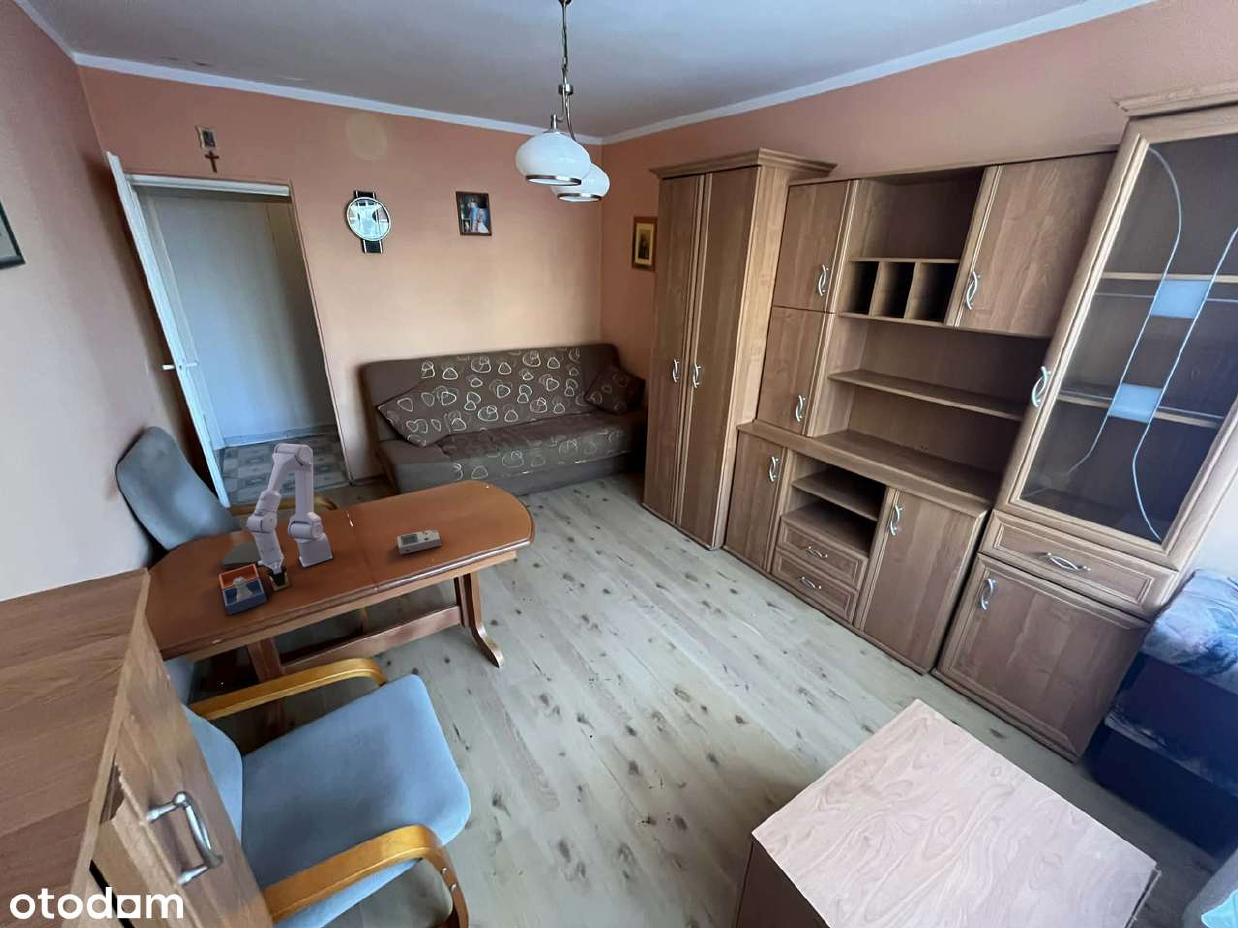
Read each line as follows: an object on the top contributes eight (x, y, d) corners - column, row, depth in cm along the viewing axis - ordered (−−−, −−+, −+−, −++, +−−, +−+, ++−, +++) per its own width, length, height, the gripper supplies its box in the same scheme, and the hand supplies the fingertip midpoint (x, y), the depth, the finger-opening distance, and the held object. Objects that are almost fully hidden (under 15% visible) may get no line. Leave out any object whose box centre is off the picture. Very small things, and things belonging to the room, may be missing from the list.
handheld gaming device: (441, 546, 193) (440, 538, 191) (400, 556, 187) (398, 547, 185) (438, 536, 200) (436, 527, 199) (398, 544, 194) (396, 536, 193)
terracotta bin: (257, 571, 177) (254, 563, 176) (262, 585, 170) (259, 576, 169) (221, 583, 171) (218, 574, 170) (225, 598, 164) (221, 589, 163)
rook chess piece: (242, 595, 165) (235, 574, 161) (257, 594, 165) (250, 574, 162) (234, 604, 160) (226, 583, 157) (249, 603, 161) (241, 582, 158)
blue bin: (262, 586, 170) (259, 578, 168) (267, 601, 162) (264, 592, 161) (225, 599, 163) (222, 590, 162) (229, 615, 156) (225, 606, 155)
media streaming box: (218, 570, 178) (216, 563, 176) (240, 548, 191) (238, 541, 190) (264, 567, 180) (261, 559, 179) (282, 545, 193) (280, 538, 192)
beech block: (287, 579, 173) (284, 568, 171) (290, 585, 170) (286, 574, 168) (272, 584, 171) (268, 573, 169) (274, 591, 167) (270, 579, 166)
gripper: (251, 542, 167) (262, 575, 172) (257, 561, 157) (269, 596, 162) (275, 534, 171) (286, 568, 177) (284, 553, 161) (294, 587, 167)
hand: (279, 581), depth 170 cm, fingers open, 5 cm apart
